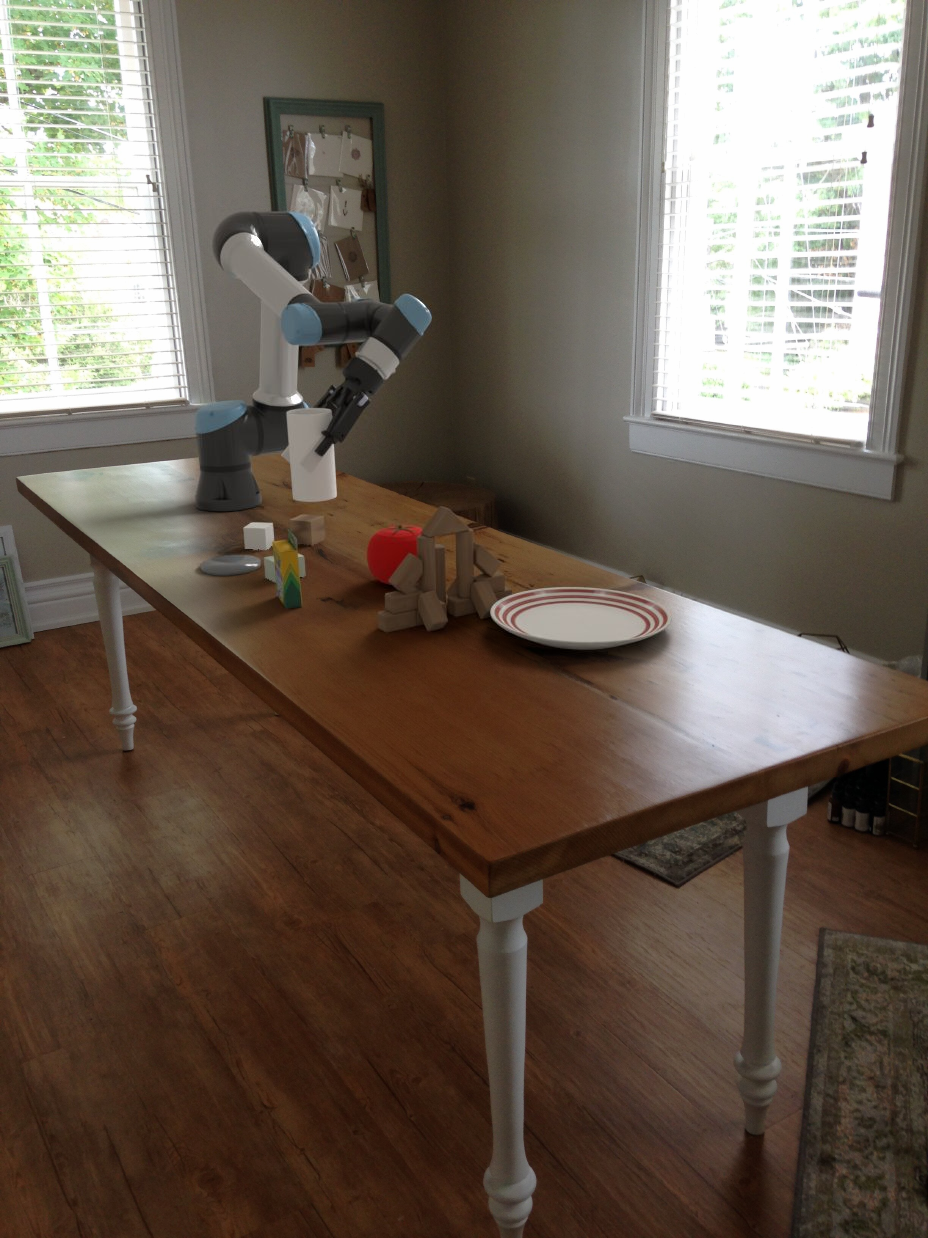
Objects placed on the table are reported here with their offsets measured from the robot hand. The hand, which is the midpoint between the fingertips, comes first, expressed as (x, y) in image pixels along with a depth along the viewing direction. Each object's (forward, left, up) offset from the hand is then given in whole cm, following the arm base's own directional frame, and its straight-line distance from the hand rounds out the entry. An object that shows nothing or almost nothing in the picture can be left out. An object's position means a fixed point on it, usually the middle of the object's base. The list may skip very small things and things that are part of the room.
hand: (295, 463), depth 192 cm
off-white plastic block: (-14, 0, -19) cm, 23 cm away
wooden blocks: (+44, -4, -19) cm, 48 cm away
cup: (+1, +3, -7) cm, 8 cm away
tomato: (+25, +3, -19) cm, 31 cm away
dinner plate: (+63, +5, -19) cm, 66 cm away
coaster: (-6, -12, -18) cm, 23 cm away
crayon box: (+19, -17, -19) cm, 31 cm away
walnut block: (-10, +9, -19) cm, 23 cm away
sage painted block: (+7, -9, -19) cm, 22 cm away
